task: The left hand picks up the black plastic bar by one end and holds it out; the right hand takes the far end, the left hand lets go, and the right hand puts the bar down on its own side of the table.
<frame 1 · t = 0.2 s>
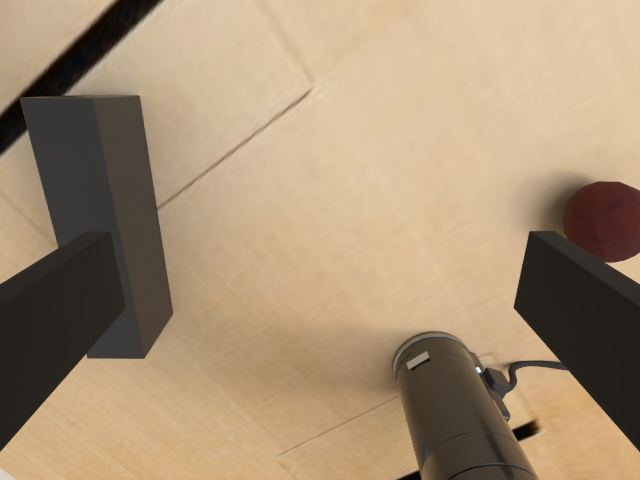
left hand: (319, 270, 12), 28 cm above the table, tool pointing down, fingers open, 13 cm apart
dark red round ball: (583, 209, 40), on the table
bar: (131, 216, 41), on the table
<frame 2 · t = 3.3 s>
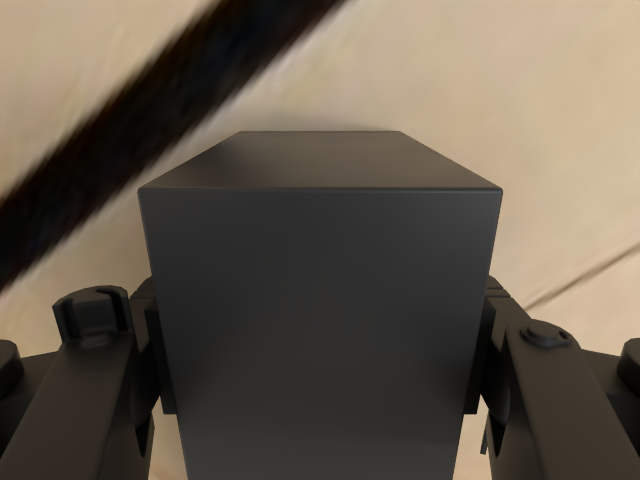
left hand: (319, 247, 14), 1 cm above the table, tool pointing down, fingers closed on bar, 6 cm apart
bar: (320, 402, 18), on the table, touching left hand
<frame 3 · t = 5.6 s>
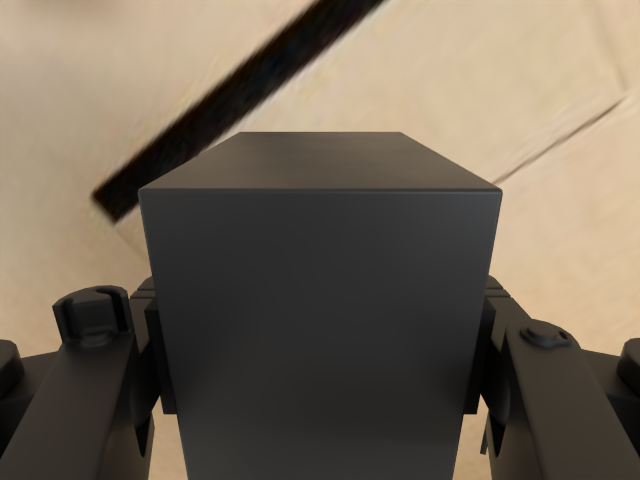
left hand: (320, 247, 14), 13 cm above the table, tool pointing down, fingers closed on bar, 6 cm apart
bar: (320, 403, 18), point 12 cm above the table, touching left hand
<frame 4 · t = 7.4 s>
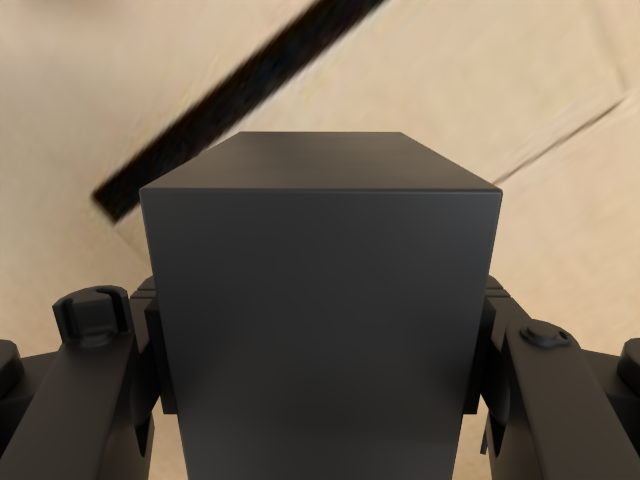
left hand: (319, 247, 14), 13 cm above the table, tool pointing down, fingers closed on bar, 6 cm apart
bar: (319, 402, 18), point 12 cm above the table, touching left hand, right hand
when the left hand's fingers open (13 cm above the table, at t = 8.2 s): bar stays where it is, held by the right hand.
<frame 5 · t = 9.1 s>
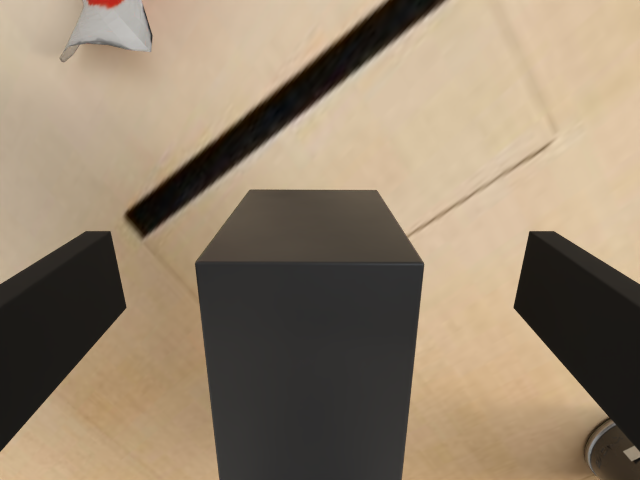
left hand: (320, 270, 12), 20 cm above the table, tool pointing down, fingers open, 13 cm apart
bar: (313, 407, 21), point 15 cm above the table, touching right hand
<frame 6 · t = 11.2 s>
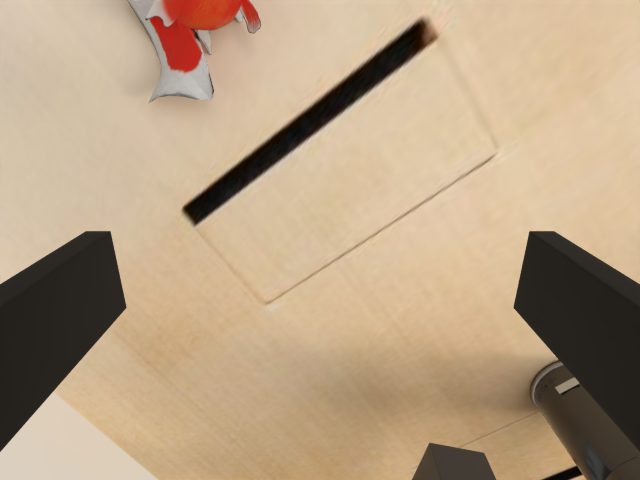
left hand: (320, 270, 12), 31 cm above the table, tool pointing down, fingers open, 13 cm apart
fish: (204, 38, 38), on the table
when the right hand's fingers open (5 cm above the table, at t = 15.2 s): bar drops 1 cm, on the table.
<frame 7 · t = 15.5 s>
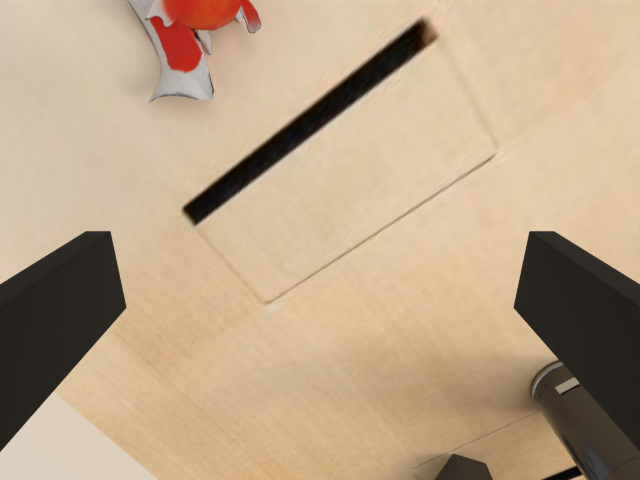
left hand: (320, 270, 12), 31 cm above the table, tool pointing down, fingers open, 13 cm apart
fish: (204, 38, 38), on the table
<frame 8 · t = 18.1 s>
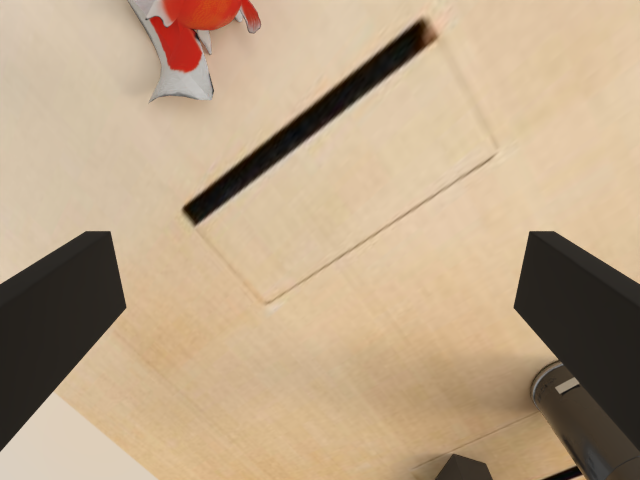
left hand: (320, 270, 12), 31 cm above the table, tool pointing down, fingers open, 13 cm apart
fish: (204, 38, 38), on the table
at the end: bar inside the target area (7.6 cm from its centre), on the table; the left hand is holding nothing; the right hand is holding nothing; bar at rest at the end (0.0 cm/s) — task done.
